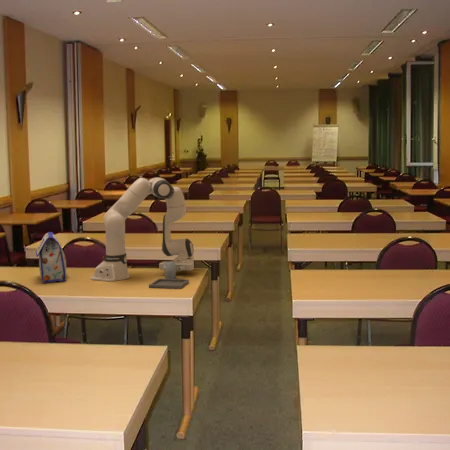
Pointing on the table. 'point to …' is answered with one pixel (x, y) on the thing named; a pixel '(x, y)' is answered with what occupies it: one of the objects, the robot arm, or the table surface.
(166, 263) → the grey upright cylinder
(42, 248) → the lunch bag
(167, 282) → the tray
